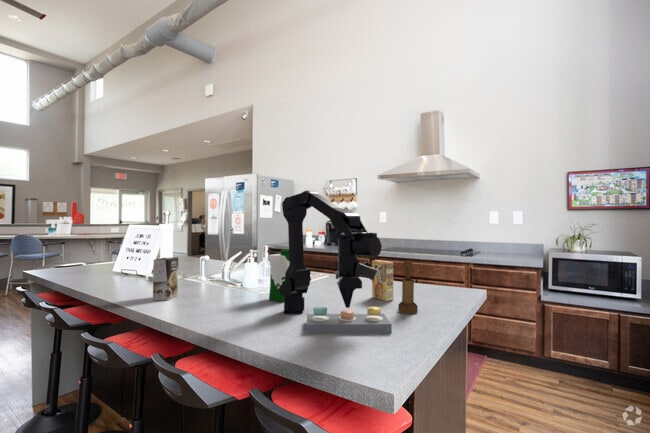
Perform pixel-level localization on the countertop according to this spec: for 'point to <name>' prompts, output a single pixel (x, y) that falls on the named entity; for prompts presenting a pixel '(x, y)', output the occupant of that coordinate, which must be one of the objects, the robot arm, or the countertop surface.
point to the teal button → (320, 311)
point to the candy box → (383, 280)
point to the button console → (348, 324)
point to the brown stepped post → (407, 292)
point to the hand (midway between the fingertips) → (347, 307)
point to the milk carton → (278, 274)
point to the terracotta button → (347, 314)
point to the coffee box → (165, 278)
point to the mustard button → (374, 311)
